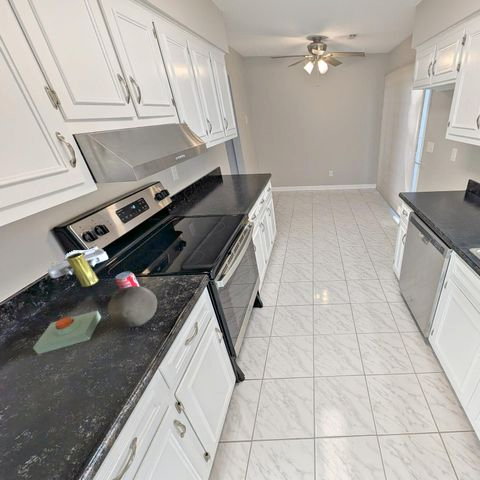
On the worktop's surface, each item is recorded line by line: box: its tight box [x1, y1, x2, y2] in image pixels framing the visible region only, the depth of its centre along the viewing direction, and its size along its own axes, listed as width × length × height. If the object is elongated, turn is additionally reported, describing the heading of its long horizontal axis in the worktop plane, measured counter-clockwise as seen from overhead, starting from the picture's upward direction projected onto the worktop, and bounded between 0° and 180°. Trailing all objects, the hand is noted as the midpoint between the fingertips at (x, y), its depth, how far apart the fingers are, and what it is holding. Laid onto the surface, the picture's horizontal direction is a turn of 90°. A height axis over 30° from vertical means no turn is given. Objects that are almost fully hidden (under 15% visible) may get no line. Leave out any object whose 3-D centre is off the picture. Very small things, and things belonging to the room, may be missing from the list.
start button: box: [55, 316, 73, 329], centre depth 88 cm, size 4×4×2 cm
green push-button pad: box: [32, 310, 102, 355], centre depth 89 cm, size 14×12×5 cm
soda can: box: [114, 271, 140, 291], centre depth 104 cm, size 6×6×12 cm
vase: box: [67, 253, 99, 288], centre depth 110 cm, size 6×6×14 cm
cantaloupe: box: [107, 285, 158, 329], centre depth 90 cm, size 14×14×15 cm
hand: (82, 269), depth 110 cm, fingers closed on vase, 5 cm apart
